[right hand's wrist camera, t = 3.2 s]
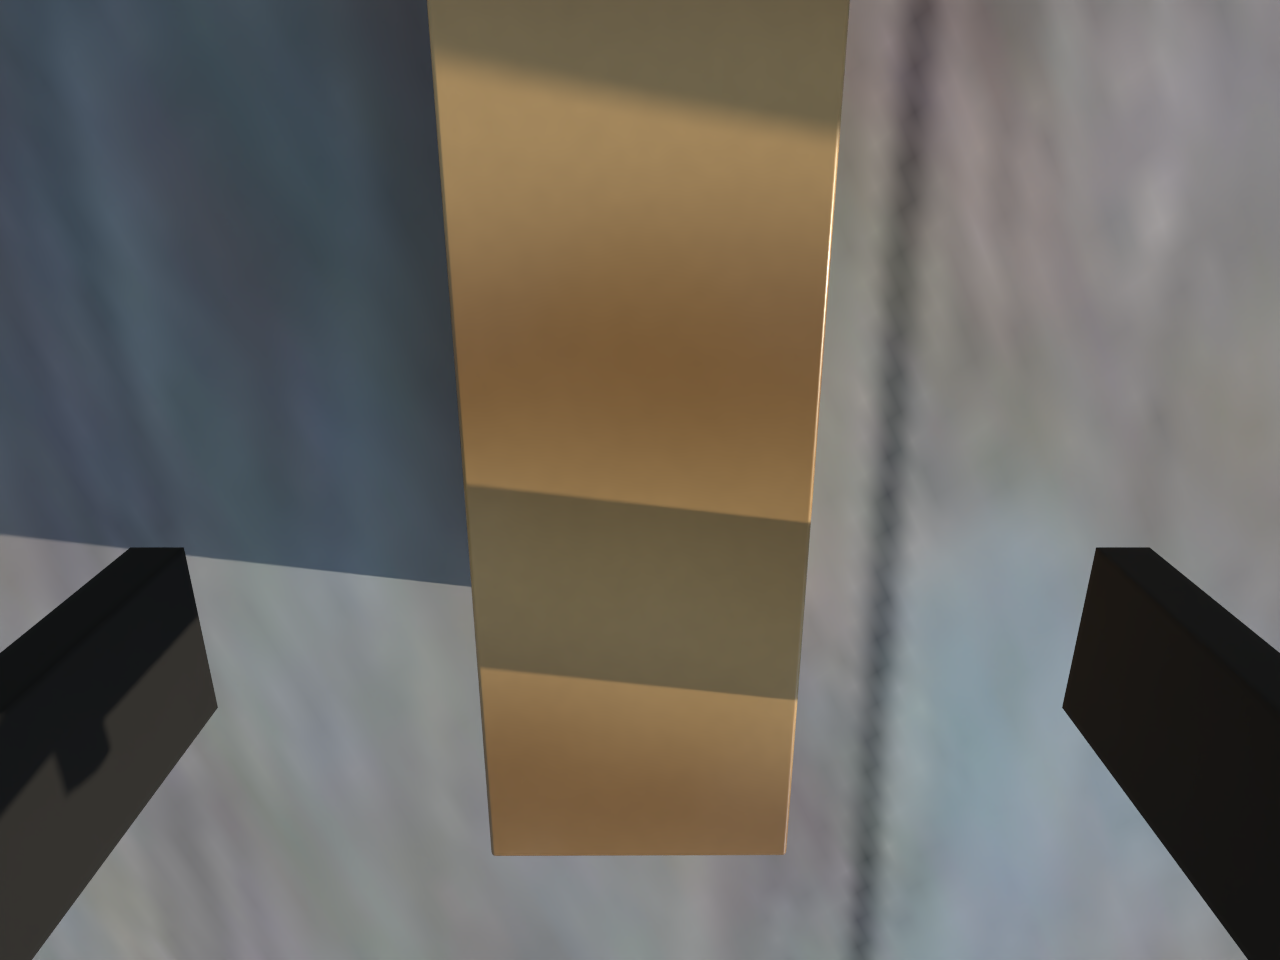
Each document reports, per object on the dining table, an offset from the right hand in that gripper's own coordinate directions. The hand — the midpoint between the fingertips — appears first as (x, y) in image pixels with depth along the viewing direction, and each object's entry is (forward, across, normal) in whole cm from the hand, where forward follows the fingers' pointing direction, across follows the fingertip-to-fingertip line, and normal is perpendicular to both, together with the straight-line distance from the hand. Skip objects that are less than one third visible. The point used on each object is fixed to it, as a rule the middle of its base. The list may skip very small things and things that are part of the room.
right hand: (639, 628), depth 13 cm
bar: (+8, 0, -9) cm, 12 cm away
